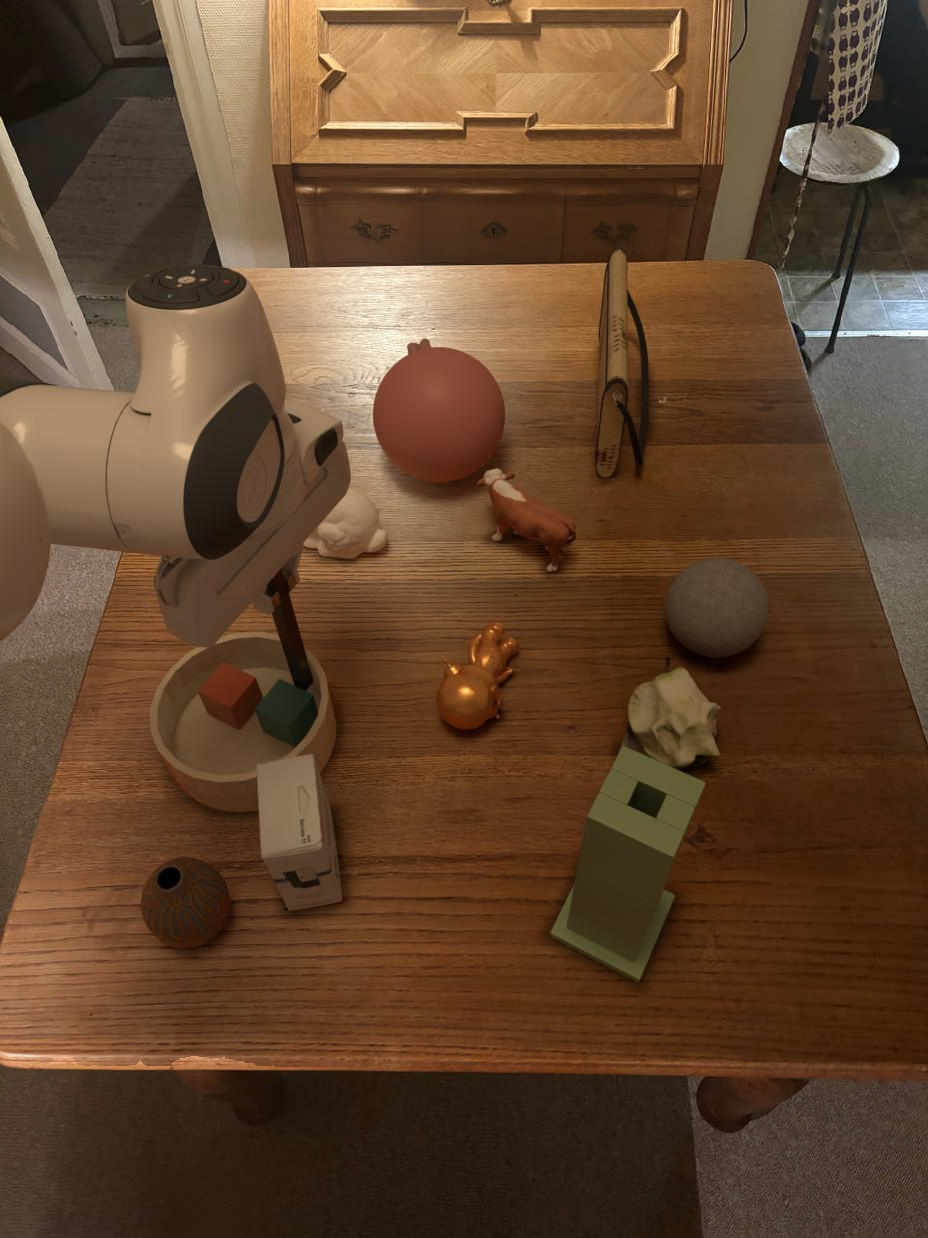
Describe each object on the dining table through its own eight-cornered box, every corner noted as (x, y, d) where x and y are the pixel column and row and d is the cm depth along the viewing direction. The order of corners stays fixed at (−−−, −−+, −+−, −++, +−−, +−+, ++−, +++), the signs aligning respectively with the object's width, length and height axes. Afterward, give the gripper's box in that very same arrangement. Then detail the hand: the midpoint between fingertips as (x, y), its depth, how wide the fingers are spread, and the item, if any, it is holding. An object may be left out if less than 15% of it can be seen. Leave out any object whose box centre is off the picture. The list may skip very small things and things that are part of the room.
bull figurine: (492, 505, 108) (492, 452, 102) (580, 562, 102) (586, 511, 96) (466, 524, 106) (465, 472, 100) (555, 584, 100) (559, 533, 94)
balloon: (491, 396, 120) (491, 291, 108) (512, 503, 108) (515, 398, 96) (374, 406, 120) (362, 302, 108) (382, 515, 107) (369, 411, 95)
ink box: (280, 822, 84) (254, 758, 74) (334, 813, 84) (314, 748, 75) (286, 915, 78) (258, 858, 69) (343, 904, 79) (324, 846, 69)
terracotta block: (230, 708, 86) (256, 677, 88) (197, 691, 87) (223, 661, 89) (239, 730, 89) (264, 699, 91) (207, 713, 90) (232, 684, 92)
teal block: (296, 748, 87) (288, 726, 84) (262, 731, 89) (254, 709, 86) (319, 716, 90) (313, 694, 86) (286, 700, 91) (279, 678, 88)
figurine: (544, 658, 93) (506, 741, 85) (502, 675, 97) (462, 757, 89) (492, 599, 91) (448, 678, 82) (452, 619, 95) (405, 697, 86)
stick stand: (638, 984, 74) (683, 878, 57) (549, 937, 77) (566, 822, 59) (673, 899, 78) (725, 776, 61) (588, 857, 81) (614, 728, 64)
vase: (142, 947, 77) (107, 909, 70) (177, 871, 81) (147, 828, 74) (218, 967, 76) (190, 930, 69) (249, 888, 80) (226, 846, 73)
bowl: (271, 842, 82) (258, 812, 78) (131, 765, 88) (111, 733, 83) (369, 706, 91) (362, 672, 86) (236, 643, 96) (223, 608, 92)
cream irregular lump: (628, 698, 92) (649, 643, 87) (718, 732, 91) (745, 677, 85) (605, 764, 86) (626, 708, 80) (701, 801, 84) (729, 747, 79)
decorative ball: (736, 594, 99) (758, 531, 91) (769, 669, 93) (795, 608, 85) (647, 607, 98) (660, 544, 90) (674, 683, 92) (691, 623, 84)
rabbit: (279, 547, 105) (258, 469, 95) (316, 493, 110) (300, 414, 100) (375, 575, 102) (363, 498, 92) (408, 518, 107) (400, 439, 98)
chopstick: (306, 692, 88) (269, 568, 73) (294, 686, 88) (255, 562, 74) (314, 681, 88) (279, 557, 74) (302, 675, 89) (265, 551, 75)
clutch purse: (651, 491, 109) (670, 389, 97) (592, 488, 109) (604, 386, 98) (647, 341, 127) (663, 240, 115) (596, 339, 127) (607, 238, 116)
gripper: (185, 588, 60) (232, 701, 71) (354, 409, 71) (372, 531, 82) (113, 554, 62) (169, 670, 73) (288, 385, 73) (314, 508, 84)
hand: (278, 595), depth 78 cm, fingers closed on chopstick, 1 cm apart
